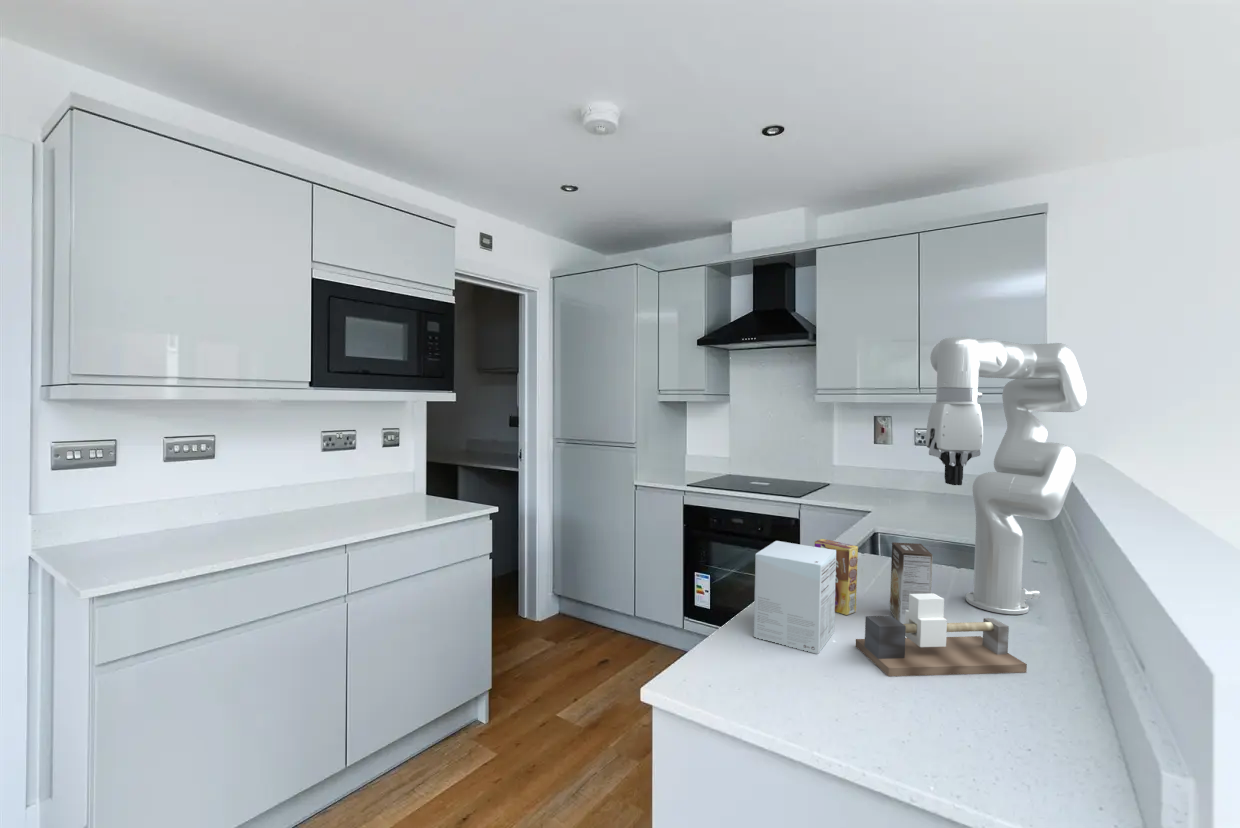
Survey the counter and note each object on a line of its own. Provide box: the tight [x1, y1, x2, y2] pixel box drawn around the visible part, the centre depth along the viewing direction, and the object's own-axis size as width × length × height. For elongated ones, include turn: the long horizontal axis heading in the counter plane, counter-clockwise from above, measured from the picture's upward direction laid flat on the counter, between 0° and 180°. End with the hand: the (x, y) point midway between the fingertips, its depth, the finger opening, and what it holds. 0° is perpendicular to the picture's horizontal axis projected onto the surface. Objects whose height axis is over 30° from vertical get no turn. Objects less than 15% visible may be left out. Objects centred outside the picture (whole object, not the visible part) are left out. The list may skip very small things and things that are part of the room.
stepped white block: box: [905, 592, 948, 647], centre depth 109 cm, size 5×5×8 cm
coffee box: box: [889, 542, 934, 624], centre depth 129 cm, size 9×6×16 cm
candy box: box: [814, 538, 859, 616], centre depth 135 cm, size 9×4×15 cm, turn 39°
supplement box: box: [752, 540, 836, 655], centre depth 119 cm, size 13×13×18 cm
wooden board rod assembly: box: [855, 614, 1028, 677], centre depth 110 cm, size 26×12×8 cm, turn 95°
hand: (953, 484), depth 122 cm, fingers closed
